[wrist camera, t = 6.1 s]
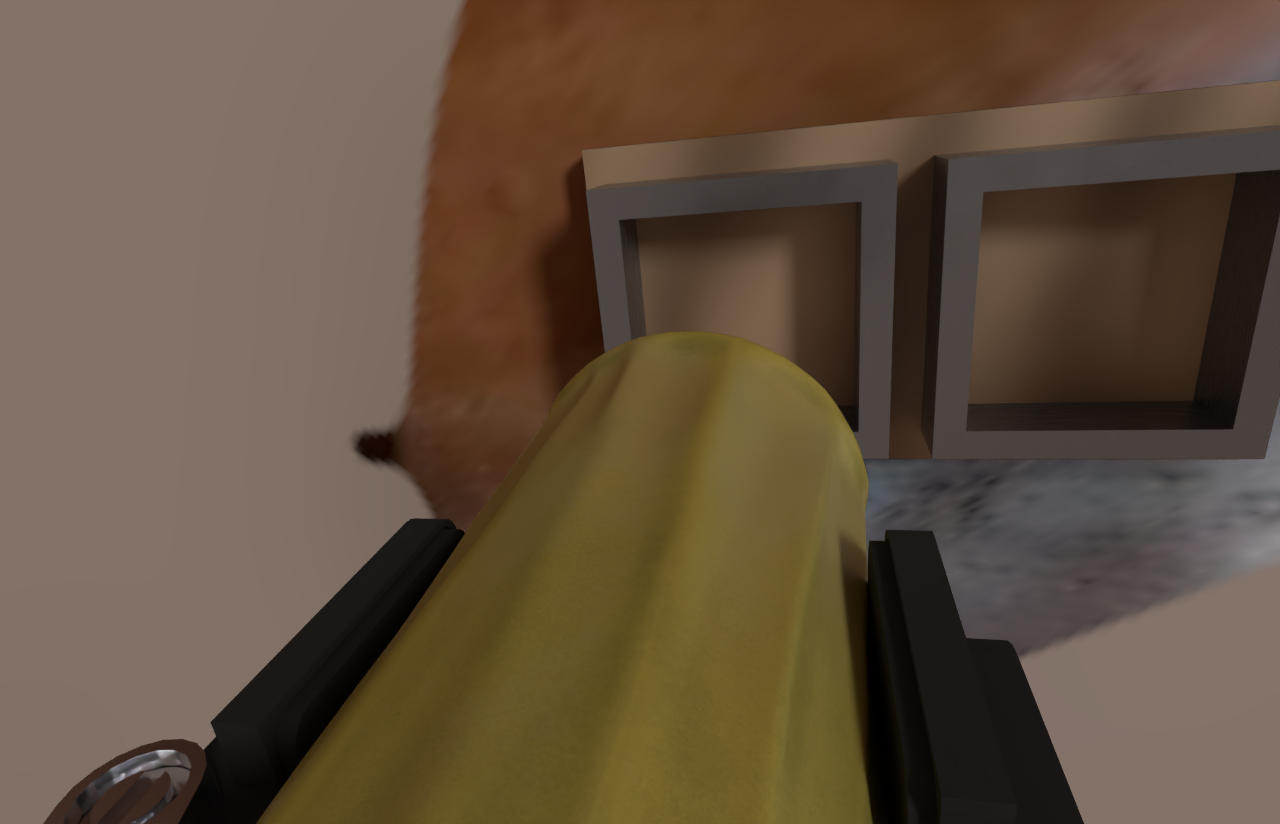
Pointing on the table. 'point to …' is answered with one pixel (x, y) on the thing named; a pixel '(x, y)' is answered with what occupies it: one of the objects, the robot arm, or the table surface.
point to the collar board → (1008, 253)
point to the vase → (635, 620)
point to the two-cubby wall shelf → (953, 429)
